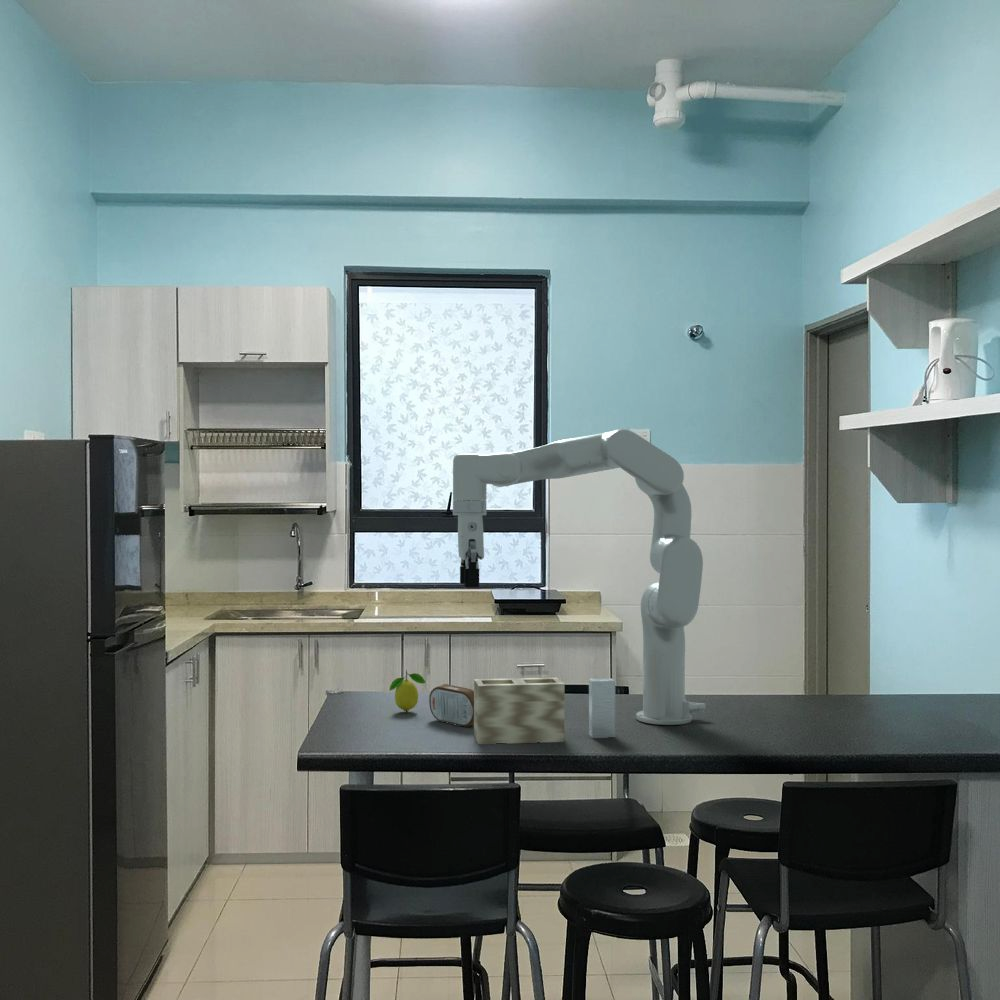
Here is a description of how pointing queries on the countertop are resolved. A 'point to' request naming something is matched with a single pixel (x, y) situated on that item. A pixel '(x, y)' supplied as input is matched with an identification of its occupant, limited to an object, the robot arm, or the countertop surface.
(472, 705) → the tin
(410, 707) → the lemon
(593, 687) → the grey slab
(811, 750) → the countertop surface
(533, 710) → the two-slot cinder block
